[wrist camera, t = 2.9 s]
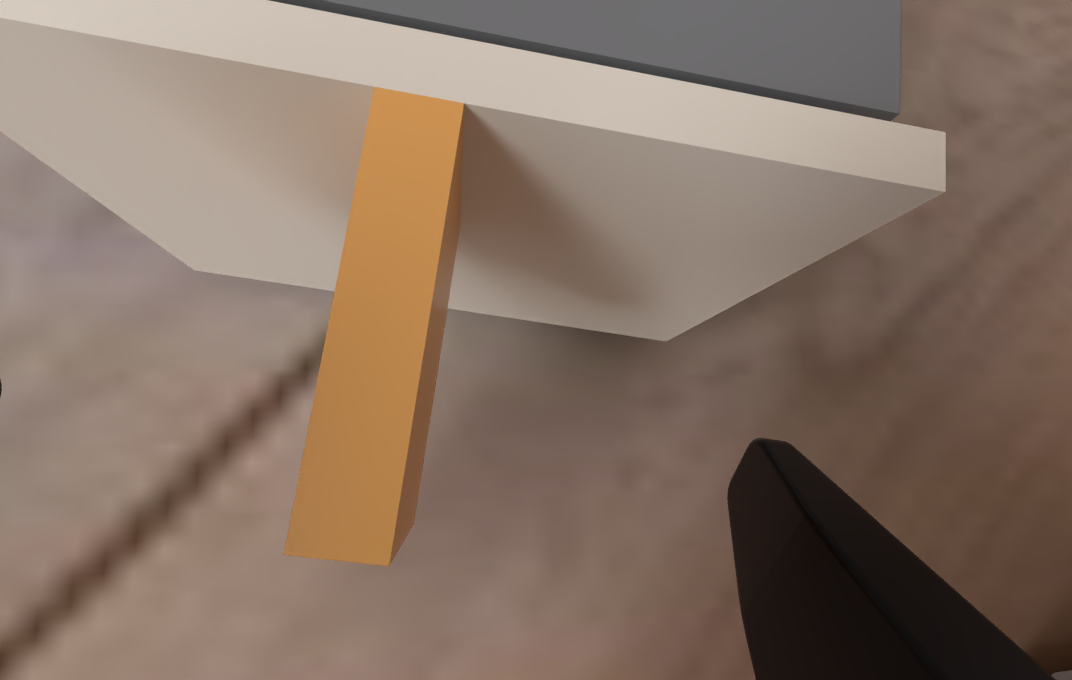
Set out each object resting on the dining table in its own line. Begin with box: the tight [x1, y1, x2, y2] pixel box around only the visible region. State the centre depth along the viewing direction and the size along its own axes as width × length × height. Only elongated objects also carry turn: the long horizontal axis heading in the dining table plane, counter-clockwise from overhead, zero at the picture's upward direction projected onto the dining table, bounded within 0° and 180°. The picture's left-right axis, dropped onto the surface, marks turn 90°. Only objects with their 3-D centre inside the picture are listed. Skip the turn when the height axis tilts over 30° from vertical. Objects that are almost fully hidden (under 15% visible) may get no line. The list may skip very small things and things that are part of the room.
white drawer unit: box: [0, 0, 946, 566], centre depth 13 cm, size 17×13×10 cm
